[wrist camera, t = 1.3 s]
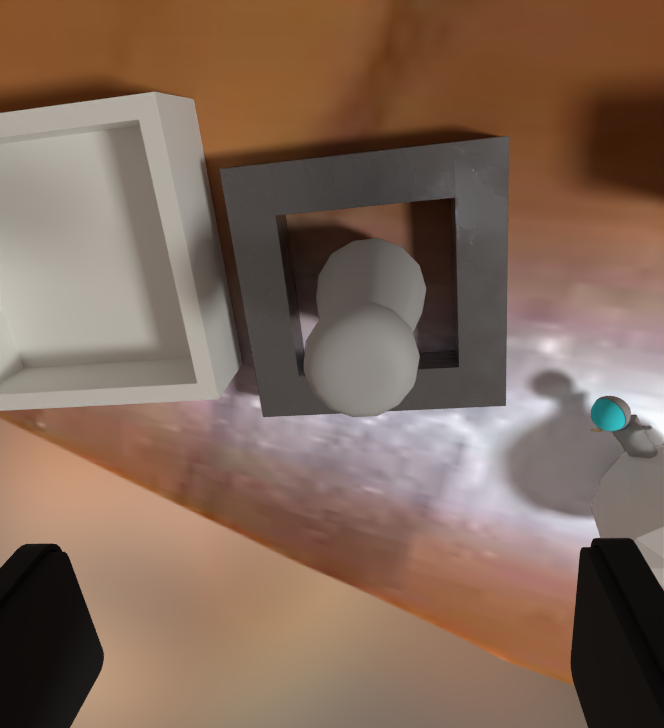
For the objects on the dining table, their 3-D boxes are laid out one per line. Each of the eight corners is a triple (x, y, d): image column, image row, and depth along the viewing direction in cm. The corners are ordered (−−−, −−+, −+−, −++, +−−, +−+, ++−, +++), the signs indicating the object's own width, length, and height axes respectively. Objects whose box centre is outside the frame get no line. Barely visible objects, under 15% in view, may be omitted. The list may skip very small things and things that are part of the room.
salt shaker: (309, 309, 32) (257, 412, 20) (340, 216, 30) (304, 269, 18) (401, 343, 32) (404, 464, 20) (440, 253, 30) (469, 329, 18)
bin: (-61, 133, 30) (-142, 132, 26) (193, 99, 28) (154, 91, 24) (24, 377, 36) (-30, 412, 31) (242, 363, 34) (218, 399, 29)
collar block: (233, 166, 29) (219, 169, 27) (499, 136, 27) (508, 136, 25) (271, 398, 35) (263, 416, 32) (498, 386, 33) (505, 405, 30)
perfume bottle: (612, 600, 33) (503, 449, 32) (685, 508, 36) (586, 364, 34) (743, 653, 26) (608, 460, 24) (824, 533, 28) (705, 351, 27)
